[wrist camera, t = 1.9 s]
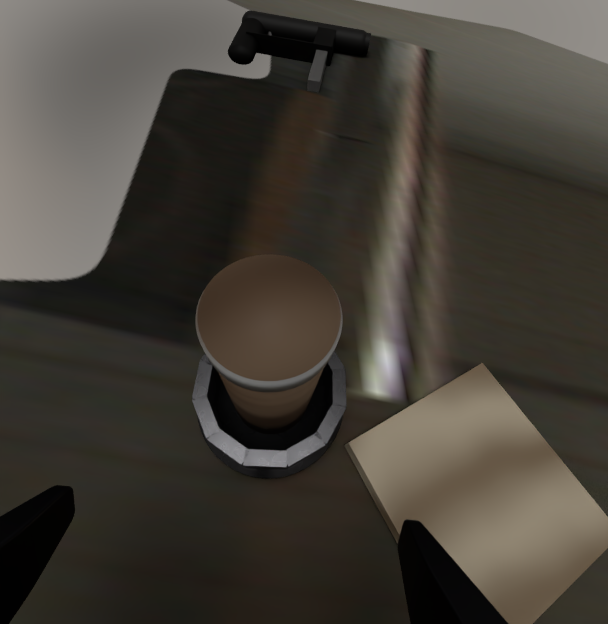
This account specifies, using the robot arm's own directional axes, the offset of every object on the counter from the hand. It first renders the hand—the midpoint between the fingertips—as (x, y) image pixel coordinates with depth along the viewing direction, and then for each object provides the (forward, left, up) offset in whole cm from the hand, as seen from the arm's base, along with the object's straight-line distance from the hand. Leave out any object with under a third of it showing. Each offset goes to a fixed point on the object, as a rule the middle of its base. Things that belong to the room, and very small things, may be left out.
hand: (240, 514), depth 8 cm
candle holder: (+5, -3, -12) cm, 14 cm away
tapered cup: (+5, -3, -11) cm, 13 cm away
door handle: (+49, -29, -13) cm, 58 cm away
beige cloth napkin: (-6, -12, -12) cm, 18 cm away
